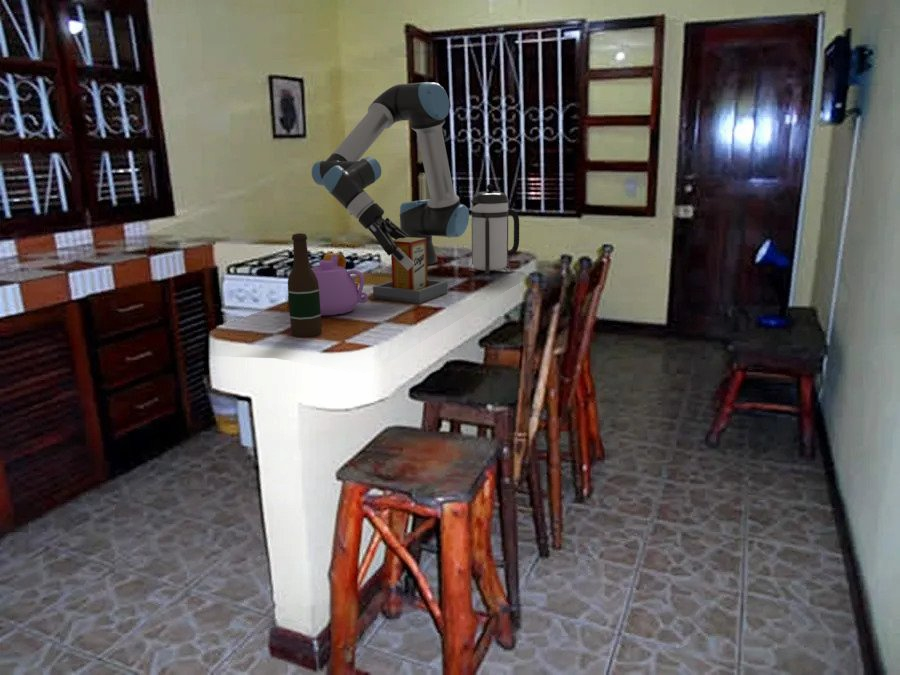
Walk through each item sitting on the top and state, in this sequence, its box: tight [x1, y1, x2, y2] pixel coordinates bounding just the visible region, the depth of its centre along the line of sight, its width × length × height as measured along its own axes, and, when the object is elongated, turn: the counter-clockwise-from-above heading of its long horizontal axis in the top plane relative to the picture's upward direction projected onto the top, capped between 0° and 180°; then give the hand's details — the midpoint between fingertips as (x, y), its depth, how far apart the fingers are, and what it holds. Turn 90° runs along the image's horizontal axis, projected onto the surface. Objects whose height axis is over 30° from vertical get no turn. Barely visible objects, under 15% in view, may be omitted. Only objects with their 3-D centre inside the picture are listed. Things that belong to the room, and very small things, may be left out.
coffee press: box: [468, 183, 520, 276], centre depth 240 cm, size 17×16×30 cm
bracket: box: [322, 252, 359, 289], centre depth 212 cm, size 11×7×12 cm, turn 153°
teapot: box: [287, 255, 369, 316], centre depth 191 cm, size 22×22×14 cm
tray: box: [372, 279, 448, 305], centre depth 208 cm, size 16×16×4 cm
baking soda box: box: [390, 237, 428, 290], centre depth 206 cm, size 10×6×16 cm
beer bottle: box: [287, 232, 323, 338], centre depth 165 cm, size 8×8×24 cm
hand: (417, 263), depth 205 cm, fingers open, 13 cm apart
